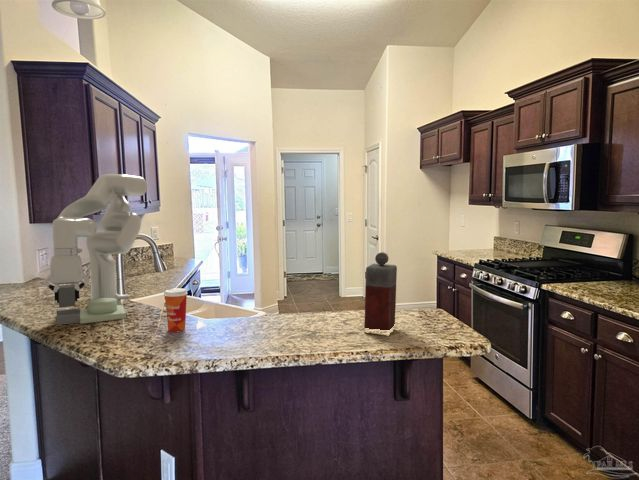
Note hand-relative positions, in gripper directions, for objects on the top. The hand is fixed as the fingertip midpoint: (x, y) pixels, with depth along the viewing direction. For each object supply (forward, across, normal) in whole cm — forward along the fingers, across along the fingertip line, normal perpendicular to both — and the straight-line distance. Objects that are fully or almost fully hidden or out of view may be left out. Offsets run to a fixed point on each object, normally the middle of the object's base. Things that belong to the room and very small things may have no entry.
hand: (67, 301), depth 152 cm
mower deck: (+7, -8, -1) cm, 11 cm away
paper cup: (+8, -33, +30) cm, 45 cm away
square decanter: (+7, -96, +63) cm, 115 cm away
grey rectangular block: (+2, 0, 0) cm, 2 cm away
